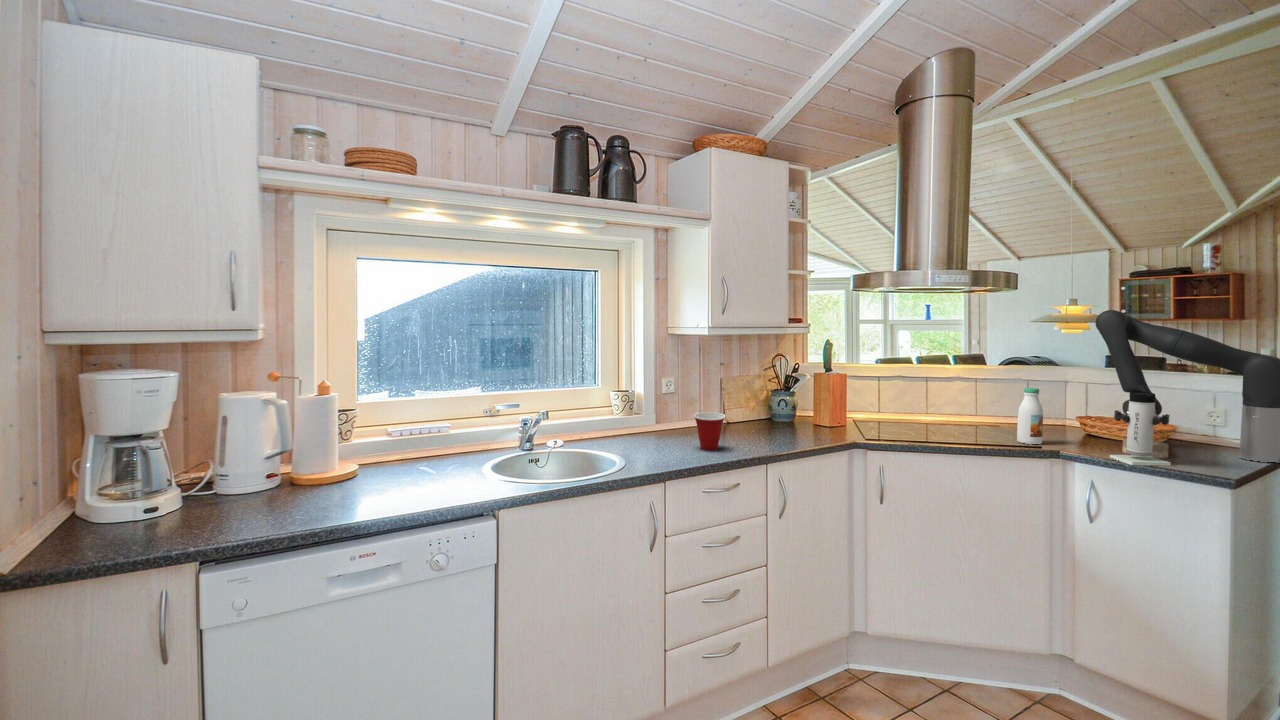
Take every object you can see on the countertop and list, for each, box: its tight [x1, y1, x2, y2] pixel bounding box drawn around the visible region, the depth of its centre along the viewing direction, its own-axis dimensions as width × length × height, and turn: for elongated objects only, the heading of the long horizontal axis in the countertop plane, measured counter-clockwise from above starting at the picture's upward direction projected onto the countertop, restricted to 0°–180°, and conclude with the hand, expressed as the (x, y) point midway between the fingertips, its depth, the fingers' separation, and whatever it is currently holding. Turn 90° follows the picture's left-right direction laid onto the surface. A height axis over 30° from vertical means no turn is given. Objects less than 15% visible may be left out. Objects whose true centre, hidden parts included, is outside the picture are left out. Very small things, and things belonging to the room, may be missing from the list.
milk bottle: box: [1016, 387, 1044, 445], centre depth 218 cm, size 8×8×20 cm
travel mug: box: [1126, 390, 1156, 456], centre depth 188 cm, size 6×7×20 cm
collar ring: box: [1121, 438, 1170, 459], centre depth 200 cm, size 11×11×4 cm
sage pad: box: [1109, 454, 1172, 467], centre depth 189 cm, size 11×10×1 cm
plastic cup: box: [693, 411, 726, 451], centre depth 207 cm, size 11×11×12 cm
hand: (1141, 420), depth 186 cm, fingers closed on travel mug, 6 cm apart
